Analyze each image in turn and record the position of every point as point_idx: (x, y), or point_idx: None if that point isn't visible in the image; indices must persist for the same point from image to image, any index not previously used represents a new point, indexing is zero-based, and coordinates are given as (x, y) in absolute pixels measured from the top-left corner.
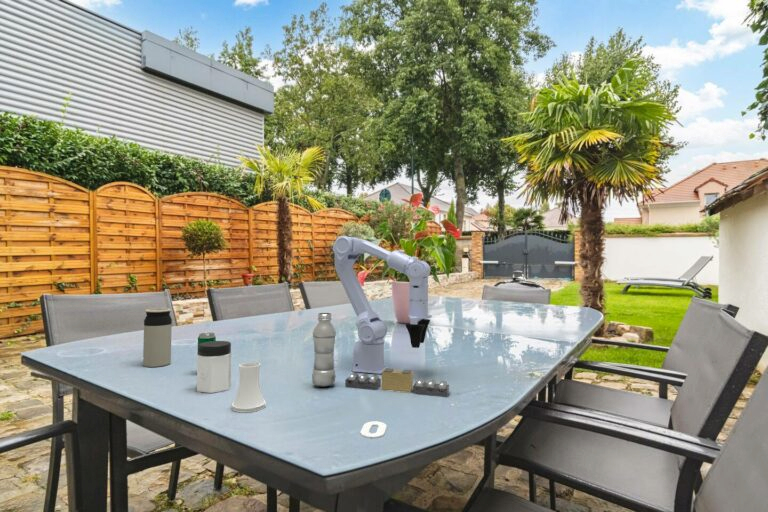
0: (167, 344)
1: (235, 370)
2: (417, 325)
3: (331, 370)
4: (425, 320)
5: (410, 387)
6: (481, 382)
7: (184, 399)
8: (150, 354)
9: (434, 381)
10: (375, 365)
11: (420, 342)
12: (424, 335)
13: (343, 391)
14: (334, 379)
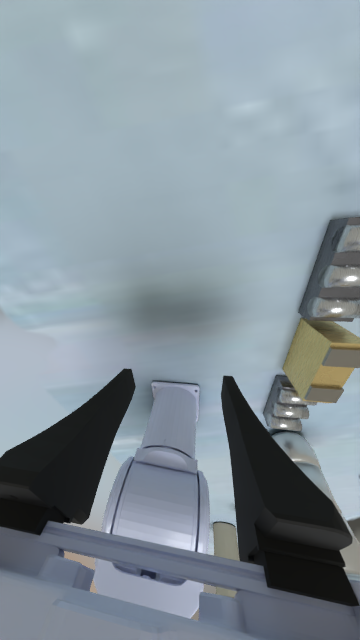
0: (228, 556)
1: (228, 495)
2: (339, 552)
3: (311, 462)
4: (44, 499)
5: (337, 325)
6: (194, 104)
7: (342, 507)
8: (237, 546)
9: (346, 270)
10: (192, 405)
11: (133, 378)
12: (113, 392)
13: (315, 414)
14: (295, 439)
